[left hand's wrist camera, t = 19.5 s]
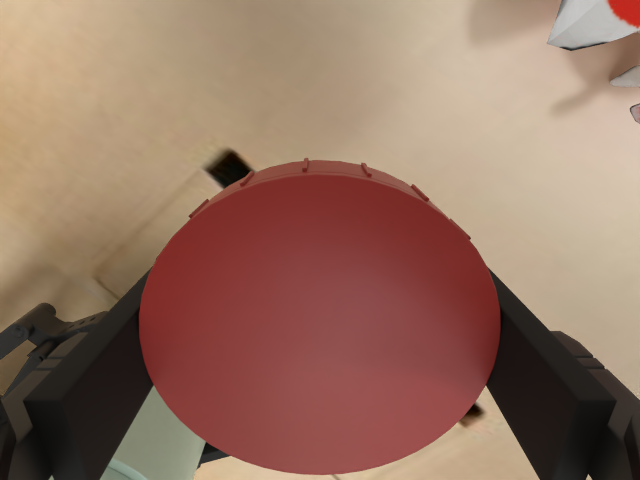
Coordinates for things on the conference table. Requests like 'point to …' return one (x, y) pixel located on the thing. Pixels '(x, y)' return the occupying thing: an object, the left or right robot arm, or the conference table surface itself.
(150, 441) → the jar
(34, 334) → the right robot arm
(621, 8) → the fish
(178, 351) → the lid
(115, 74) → the conference table surface
